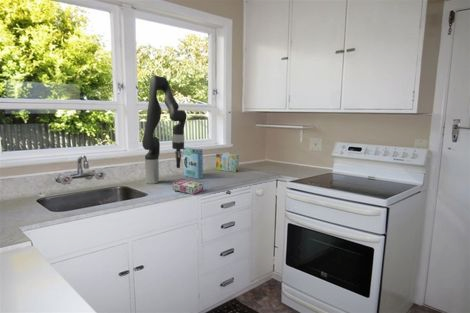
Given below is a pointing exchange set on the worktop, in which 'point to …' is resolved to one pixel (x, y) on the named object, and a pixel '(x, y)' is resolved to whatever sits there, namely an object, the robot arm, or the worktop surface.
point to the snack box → (227, 162)
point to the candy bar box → (188, 186)
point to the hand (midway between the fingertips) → (178, 167)
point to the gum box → (193, 162)
